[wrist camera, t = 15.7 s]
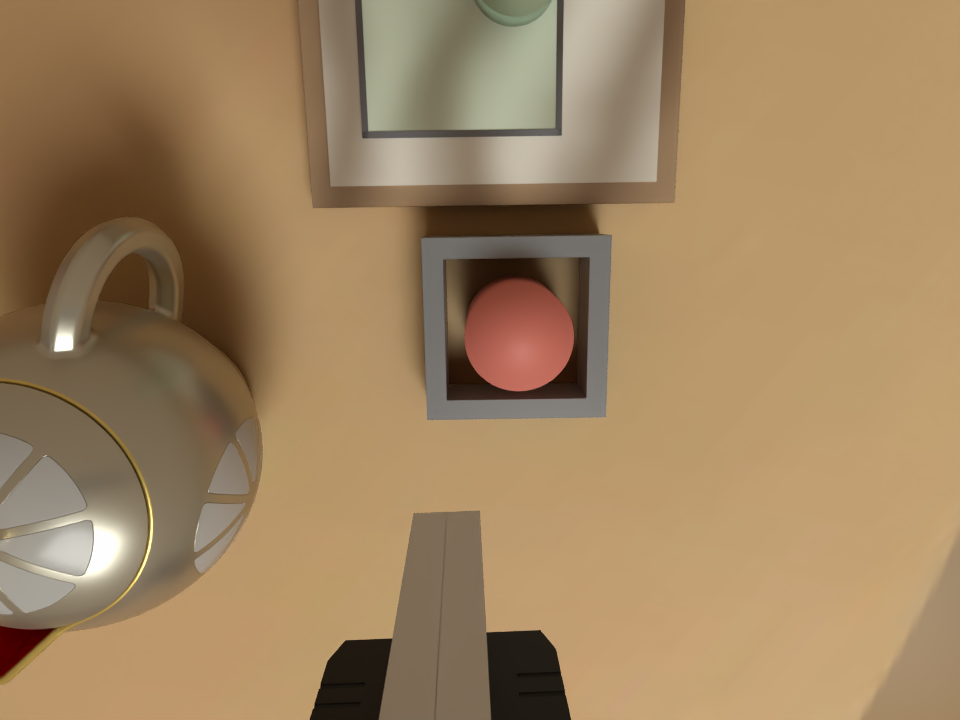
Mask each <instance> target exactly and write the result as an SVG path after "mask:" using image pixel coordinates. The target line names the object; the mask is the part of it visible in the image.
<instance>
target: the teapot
mask: <svg viewBox="0 0 960 720" xmlns="http://www.w3.org/2000/svg"><path fill="white" fill-rule="evenodd" d="M131 253H135V254H139V255H141V256H142V258H143V260H144V261H145V264H146V267H147V271H148V276H149V307H148V309H145V308H141V307H137V306H133V305H128V304H123V303H117V302H109V301H98V298H99V296H100V293H101V291H102V288H103V286H104V284H105V282H106V280H107V278H108V277H109V275H110V274H111V272H112V271H113V269H114V268H115V267H116V265H117V264H118V263H119V262H120V261H121V260H122V259H123V258H124V257H126V256H127V255H129V254H131ZM183 303H184V272H183V266H182V261H181V258H180V255H179V252H178V250H177V248H176V246H175V244H174V243H173V241H172V240H171V239H170V238H169V237H168V236H167V235H166V234H165V233H164V232H163V231H162V230H161V229H160V228H159V227H158V226H157V225H155V224H154V223H152V222H150V221H148V220H146V219H143V218H139V217H129V216H128V217H120V218H116V219H113V220H109V221H106V222H103V223H101V224H98V225H96V226H95V227H93V228H91V229H90V230H88V231H87V232H86V233H85V234H84V235H82V236H81V237H80V238H79V239H78V240H77V241H76V243H75V244H74V245H73V246H72V247H71V249H70V250H69V252H68V253H67V255H66V256H65V258H64V259H63V261H62V263H61V265H60V266H59V268H58V270H57V273H56V275H55V277H54V279H53V282H52V284H51V287H50V290H49V293H48V296H47V300H46V303H45V304H42V305H37V306H32V307H28V308H24V309H21V310H18V311H14V312H11V313H8V314H5V315H3V316H0V685H3V684H6V683H8V682H10V681H11V680H12V679H13V678H14V677H15V676H16V675H17V674H19V673H20V672H21V671H22V670H23V669H24V668H25V667H26V666H27V665H28V664H29V663H31V662H32V661H33V660H34V659H35V658H36V657H37V656H38V655H39V654H40V653H41V652H43V651H44V650H45V649H46V648H47V647H48V646H49V645H50V644H51V643H52V642H53V641H55V640H56V639H57V638H58V637H59V636H60V635H62V634H63V633H65V632H69V631H79V630H85V629H92V628H97V627H102V626H106V625H110V624H114V623H117V622H121V621H124V620H127V619H129V618H132V617H135V616H137V615H140V614H142V613H145V612H147V611H149V610H151V609H153V608H155V607H157V606H159V605H161V604H163V603H165V602H166V601H168V600H170V599H172V598H173V597H175V596H176V595H178V594H179V593H181V592H182V591H184V590H185V589H186V588H188V587H189V586H191V585H192V584H193V583H195V582H196V581H197V580H198V579H199V578H200V577H201V576H203V575H204V574H205V573H206V572H207V571H208V570H209V569H210V568H211V567H212V566H213V565H214V564H215V563H216V562H217V561H218V560H219V559H220V558H221V557H222V555H223V554H224V553H225V552H226V550H227V549H228V548H229V547H230V545H231V544H232V542H233V541H234V539H235V538H236V536H237V535H238V533H239V532H240V530H241V528H242V526H243V525H244V523H245V521H246V519H247V517H248V515H249V512H250V510H251V508H252V505H253V502H254V500H255V496H256V493H257V490H258V486H259V481H260V476H261V470H262V457H263V446H262V434H261V427H260V422H259V418H258V415H257V411H256V408H255V405H254V403H253V400H252V397H251V394H250V390H249V388H248V385H247V383H246V381H245V379H244V377H243V375H242V374H241V372H240V371H239V369H238V368H237V366H236V365H235V364H234V363H233V362H232V361H231V360H230V358H229V357H228V356H227V355H225V354H224V353H223V352H222V351H221V350H219V349H218V348H217V347H215V346H214V345H212V344H211V343H210V342H209V341H207V340H206V339H205V338H204V337H202V336H201V335H199V334H198V333H197V332H195V331H194V330H192V329H190V328H189V327H187V326H185V325H184V324H182V323H181V322H182V313H183Z"/></svg>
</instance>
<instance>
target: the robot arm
mask: <svg viewBox="0 0 960 720" xmlns="http://www.w3.org/2000/svg"><path fill="white" fill-rule="evenodd" d="M310 720H571V717H570V713H569V708H568V703H567V699H566V696H565V689H564V685H563V680H562V676H561V671H560V666H559V661H558V657H557V652H556V649H555V647H554V646H553V645H552V644H551V643H550V641H549V640H548V639H547V638H546V636H545V635H544V634H543V633H542V632H541V630H535V631H511V632H488V633H486V617H485V599H484V580H483V562H482V543H481V525H480V511H461V512H435V513H414V514H413V520H412V526H411V532H410V538H409V544H408V550H407V556H406V562H405V568H404V573H403V579H402V585H401V591H400V597H399V603H398V609H397V615H396V621H395V627H394V632H393V638H392V639H370V640H346V641H345V642H344V643H343V644H342V645H341V646H340V647H339V649H338V650H337V651H336V652H335V653H334V654H333V655H332V657H331V658H330V659H329V660H328V662H327V665H326V668H325V672H324V675H323V678H322V681H321V687H320V689H319V691H318V694H317V698H316V701H315V707H314V709H313V711H312V714H311V717H310Z"/></svg>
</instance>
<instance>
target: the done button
mask: <svg viewBox="0 0 960 720" xmlns="http://www.w3.org/2000/svg"><path fill="white" fill-rule="evenodd" d="M573 344H574V330H573V324H572V321H571V318H570V316H569V313H568V311H567V310H566V308H565V307H564V305H563V304H562V303H561V302H560V301H559V299H558V298H557V297H556V296H555V295H554V294H553V293H552V292H551V291H550V290H549V289H548V288H546V287H545V286H544V285H543V284H541V283H540V282H538V281H536V280H534V279H531V278H528V277H524V276H515V275H513V276H505V277H501V278H498V279H495V280H493V281H491V282H489V283H488V284H486V285H485V286H484V287H483V288H482V289H480V290H479V292H478V293H477V294H476V295H475V297H474V298H473V300H472V301H471V304H470V306H469V309H468V312H467V317H466V326H465V348H466V352H467V355H468V358H469V360H470V362H471V364H472V366H473V367H474V369H475V370H476V372H477V373H478V374H479V375H480V376H481V377H482V378H483V379H485V380H486V381H487V382H489V383H490V384H492V385H494V386H496V387H498V388H501V389H505V390H510V391H527V390H532V389H536V388H539V387H541V386H543V385H545V384H547V383H548V382H550V381H551V380H553V379H554V378H555V377H556V376H557V375H558V374H559V373H560V372H561V371H562V370H563V368H564V367H565V366H566V364H567V362H568V360H569V358H570V355H571V353H572V349H573Z"/></svg>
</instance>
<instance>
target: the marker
mask: <svg viewBox="0 0 960 720" xmlns="http://www.w3.org/2000/svg"><path fill="white" fill-rule="evenodd" d="M474 1H475V3H476V5H477V6H478V8H479V9H480V10H481V12H482V13H483V14H484V15H485V16H486V17H487V18H489V19H490V20H492V21H493V22H495V23H497V24H500V25H503V26H508V27H518V26H523V25H526V24H529V23H531V22H533V21H535V20H536V19H538V18H539V17H540V16H541V15H542V14H543V13H544V12H545V11H546V10H547V8H548V7H549V5H550V3H551V2H552V0H474Z"/></svg>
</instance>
